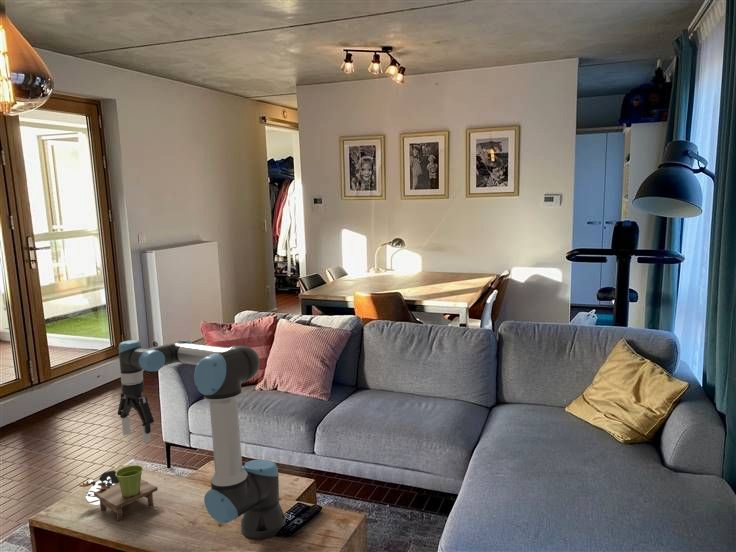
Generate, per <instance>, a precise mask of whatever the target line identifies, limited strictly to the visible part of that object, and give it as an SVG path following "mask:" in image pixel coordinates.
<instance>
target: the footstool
mask: <svg viewBox="0 0 736 552" xmlns="http://www.w3.org/2000/svg"><path fill="white" fill-rule="evenodd" d="M109 487H110V488H108V489H106V490H99V491H97V492H95V493H94V496H95V497H97V498H99V499H100V504H99V507H100V508H99V509H100V512H105V511H106V510H107V508H108V509H109V510H111V511H113V512H115V513H116V521H117V522H121V521H123V507H124V506H126V505H128V504H131V503H133V502H135V501H136V500H139V499H142V498H143V497H144V498H146V499H147V507H148V506H149V507H148V508H151V506H152V507H153V506H154V495H153V493H156V492H157V491H158V487H157V486H155V485H153V484H152V483H150V482H148V481H145V480H143V479H142V478H141V484H140V492H139V493H138V494H137V495H132V496H130V497H124V496H123V495H122V492H121V488H120V484H119V483H116V484H114V485H112V486H109Z"/></svg>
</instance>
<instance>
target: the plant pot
mask: <svg viewBox="0 0 736 552" xmlns="http://www.w3.org/2000/svg"><path fill="white" fill-rule="evenodd" d="M143 470H144V467H143V466H142V465H139V464H135V465H134V464H131V465H126V466H124V467H122V468H120V469H118V470H117V471H116V473H115V475H116V476H117V478H118V480H119V484H120V488H121V492H122V495H123V496H124V497H130V496H132V495H137V494H138V493H139V492H140V484H141V479H142V475H143Z"/></svg>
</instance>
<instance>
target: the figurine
mask: <svg viewBox="0 0 736 552" xmlns="http://www.w3.org/2000/svg"><path fill="white" fill-rule="evenodd" d="M116 472H117V471H116V470H109V471H105V472H103V473H102V474H101V475H100V477H99V479H98V480H96V481H94V479H89V482H88V480H87V481H86V483H85V482H82V484H78V485H79V487H80V488H85V487H89V486H91V485H92V486H91V487H90V489H89V490H88V491H87V493H86V494H85V500H86V502H87V503H89V504H90V505H95V506H98V505H99V506H100V499H99V498H97V497H95V496H94V493H95V492H97V491H99V490H106V489H108V488H110V487H109V486H112V485H114V484H116V483H119V480H118V478H117V476H116V475H115V473H116Z"/></svg>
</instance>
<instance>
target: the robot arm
mask: <svg viewBox="0 0 736 552" xmlns="http://www.w3.org/2000/svg"><path fill="white" fill-rule="evenodd" d="M118 359H119V368H120V382H121V393H120V400H119V404H118V410H117V415H118V416H120V418H121V425H122V426H121V427H122V435H123V436H126V435H129V434H131V433H132V432H131V420H130V418H131V417H130V412H131V409H132V408H133V410H134V411H136V412H137V415H138V416H139V418H140V420H141V423H142V425H141V430H142V442H143V443H148V442H151V441H152V433H151V425H152V424H153V423H155V420H154V417H153V414H152V411H151V408H150V404H149V402H148V397H147V396H144V397H143V396H142V393H143V392H144V391H145V383H144V371H146V372H157V371H160V370H161V369H162V368H163V367H165V366H168V365H172V364H176V363H179V364H180V363H181V364H187V365H195V369H194V374H193V379H194V385H195V387H197V391H198V392H199V393H200V394H202V395H203V398H204V399H205V400H206V401H207V402H208V403H209V411H210V412H209V413H210V414H209V415H210V425H211V427H210V428H211V438H212V452H213V461H214V462H213V464H214V474H213V475H212V476H211V478H210V488H211V489H209V490H207V491H206V492H205V494H204V499H203V501H204V506H205V509H206V512H207V513H208V515H210V517H211V519H213V520H214V521H216V522H217V523H219V524H224V525H225V524H228V523H230V522H232V521H235V520H237V519H238V518H239V517H240V516H243V517H242V518H241V520H240V521H241V522H240V531H241V533H242V535H243V536H245V537H246V538H250V539H254V540H263V539H268V538H269V539H270V538H272V537H274V536H276V535H277V534H276V533H277V532H278V531H279V530H280V529H281V528H282V527H283V525H284V523H285V524H286V516H285V514H284V511H283V508H282V506H281V504H280V487H279V485H280V484H279V483H280V482H279V475H280V474H279V469H278V465H277V463H276V462H274V461H272V460H269V459H253V460H248V461H246V462H244V464H243V458H242V447H241V433H240V432H241V431H240V421H239V420H240V419H239V406H238V398H239V396H241V394H242V384H243V383H246V382H248V381H250V380H252V379H253V378H254V377H255V376H256V375H257V374H258V372H259V370H260V365H261V362H260V361H261V360H260V357H259V355H258V353H257V351H255V349H253V348H252V347H249V346H246V345H244V346H243V345H231V347H225V346H215V345H208V344H207V345H206V344H197V343H193V342H191V341H190V340H188V339H183V340H178V341H175V342H171V343H167V344H163V345H158V346H154V347H149V348H142V343H141V341H140V340H136V339H131V340H125V341H122V342H120V343H119V344H118Z"/></svg>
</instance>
